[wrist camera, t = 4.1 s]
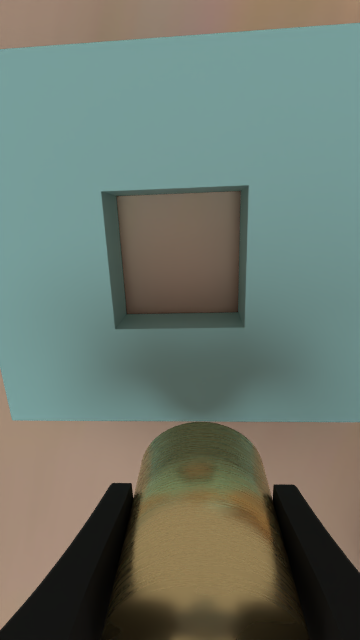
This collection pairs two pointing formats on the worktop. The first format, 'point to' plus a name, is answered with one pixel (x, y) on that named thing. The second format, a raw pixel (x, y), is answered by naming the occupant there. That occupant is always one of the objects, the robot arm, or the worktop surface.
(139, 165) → the jig
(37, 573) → the worktop surface
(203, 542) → the peg
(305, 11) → the worktop surface
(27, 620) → the robot arm
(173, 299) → the worktop surface
